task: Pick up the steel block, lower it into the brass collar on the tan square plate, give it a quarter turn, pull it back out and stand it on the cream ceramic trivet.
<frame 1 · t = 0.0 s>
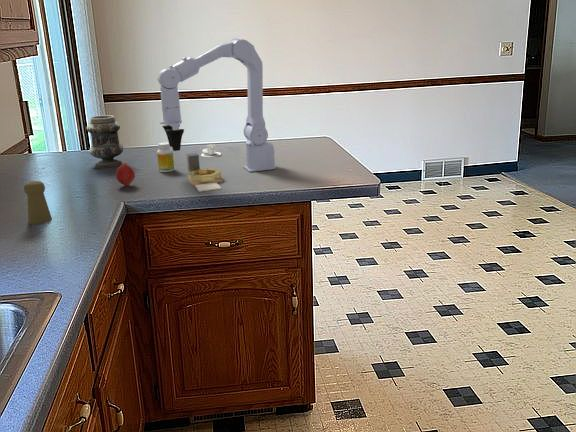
hand: (174, 148, 198), 10 cm above the countertop, tool pointing down, fingers open, 7 cm apart
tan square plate: (205, 180, 197), on the countertop
yellow tapered knobbed piece: (40, 221, 163), on the countertop
pomegranate: (126, 186, 193), on the countertop
collar: (204, 175, 197), on the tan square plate, point 1 cm above the countertop
trivet: (208, 187, 188), on the countertop
carved stone vase: (108, 165, 223), on the countertop
steel block: (194, 174, 205), on the countertop
teacup and saucer: (215, 154, 236), on the countertop
supplement bottle: (166, 171, 211), on the countertop
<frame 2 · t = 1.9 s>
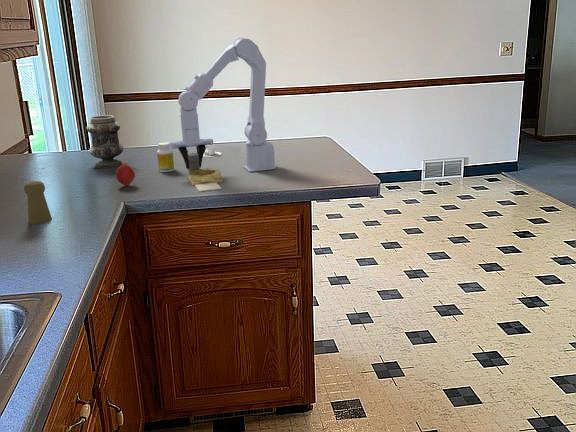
hand: (193, 167, 204), 2 cm above the countertop, tool pointing down, fingers closed on steel block, 3 cm apart
steel block: (194, 174, 205), on the countertop, touching gripper
everything else where it was.
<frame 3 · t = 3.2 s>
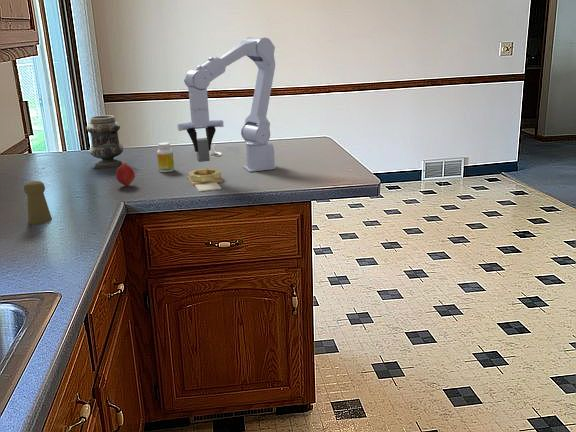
hand: (202, 150, 194), 10 cm above the countertop, tool pointing down, fingers closed on steel block, 3 cm apart
steel block: (203, 160, 195), point 7 cm above the countertop, touching gripper
everything else where it was.
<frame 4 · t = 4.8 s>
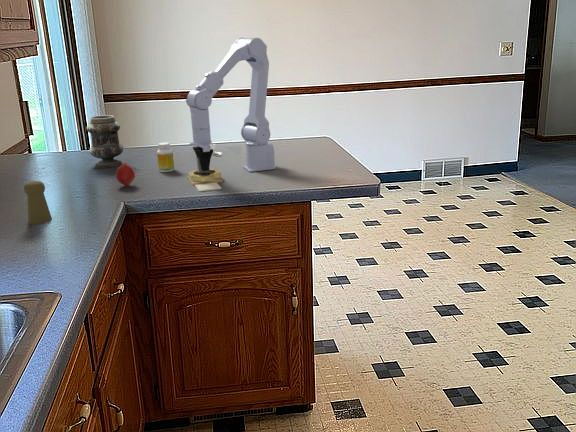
hand: (204, 169, 196), 4 cm above the countertop, tool pointing down, fingers closed on steel block, 3 cm apart
steel block: (204, 177, 197), point 1 cm above the countertop, touching gripper
everything else where it was.
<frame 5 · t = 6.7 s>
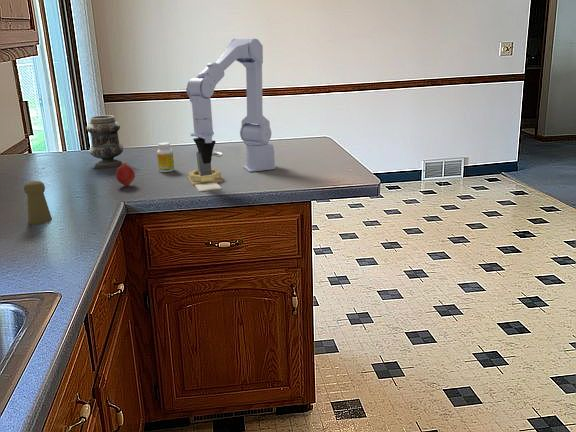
hand: (205, 161, 186), 8 cm above the countertop, tool pointing down, fingers closed on steel block, 3 cm apart
steel block: (205, 174, 187), point 4 cm above the countertop, touching gripper
everything else where it was.
when the fingers open (4 cm above the countertop, at t = 7.8 s): steel block stays where it is, resting on trivet.
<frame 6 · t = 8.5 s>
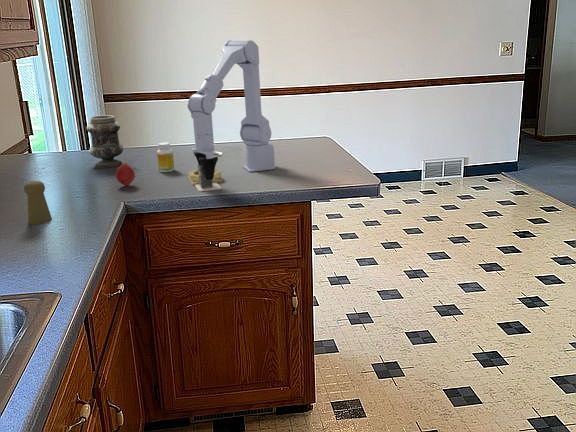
hand: (207, 176, 187), 4 cm above the countertop, tool pointing down, fingers open, 7 cm apart
steel block: (206, 186, 188), resting on trivet
everything else where it was.
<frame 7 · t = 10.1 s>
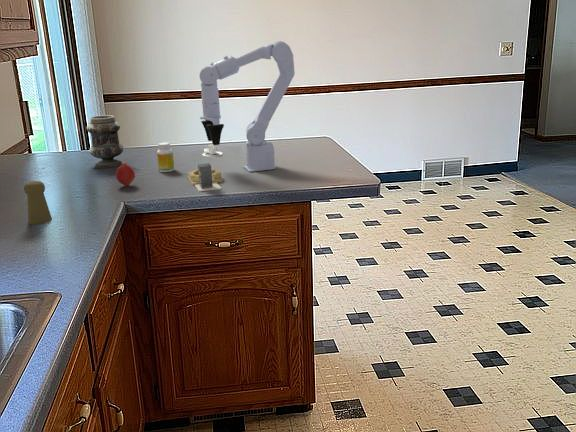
hand: (213, 142, 205), 10 cm above the countertop, tool pointing down, fingers open, 7 cm apart
nothing on the countertop moved.
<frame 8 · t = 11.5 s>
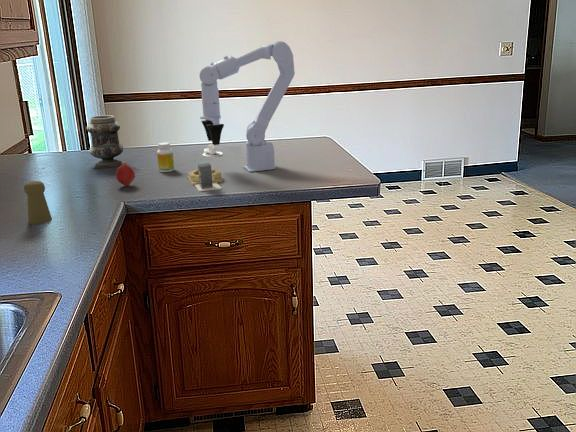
hand: (213, 142, 206), 10 cm above the countertop, tool pointing down, fingers open, 7 cm apart
nothing on the countertop moved.
at the end: steel block 0.6 cm from the trivet (horizontally); steel block tilted 0°; the gripper is holding nothing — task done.
